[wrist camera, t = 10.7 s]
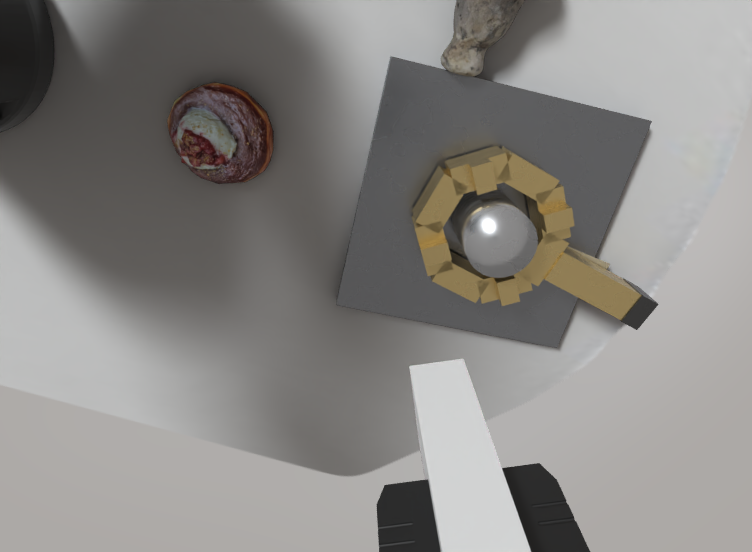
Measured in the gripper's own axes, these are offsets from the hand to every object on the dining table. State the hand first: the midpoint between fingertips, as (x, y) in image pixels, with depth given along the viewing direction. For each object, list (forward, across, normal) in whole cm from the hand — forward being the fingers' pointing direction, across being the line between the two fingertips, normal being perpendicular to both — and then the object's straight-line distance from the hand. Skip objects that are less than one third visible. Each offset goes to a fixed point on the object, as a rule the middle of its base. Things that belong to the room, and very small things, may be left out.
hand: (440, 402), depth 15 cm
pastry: (+30, -12, +4) cm, 32 cm away
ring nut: (+27, +11, -8) cm, 30 cm away
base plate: (+29, +8, -5) cm, 30 cm away
